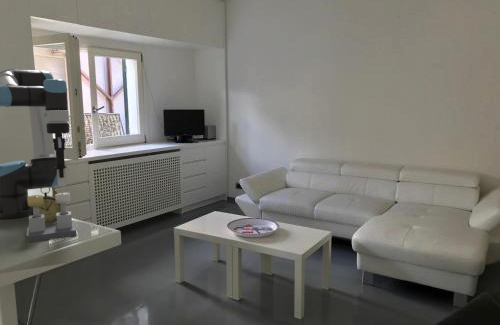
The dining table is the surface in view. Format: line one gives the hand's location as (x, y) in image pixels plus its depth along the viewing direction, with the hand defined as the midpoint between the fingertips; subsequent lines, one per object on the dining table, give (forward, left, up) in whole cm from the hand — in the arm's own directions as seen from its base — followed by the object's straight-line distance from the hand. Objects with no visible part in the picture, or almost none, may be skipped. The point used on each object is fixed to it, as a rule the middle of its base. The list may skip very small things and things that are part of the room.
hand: (62, 185), depth 147 cm
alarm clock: (-12, -6, -18) cm, 22 cm away
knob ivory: (0, 0, -11) cm, 11 cm away
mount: (0, -5, -18) cm, 18 cm away
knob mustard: (0, -9, -11) cm, 14 cm away
